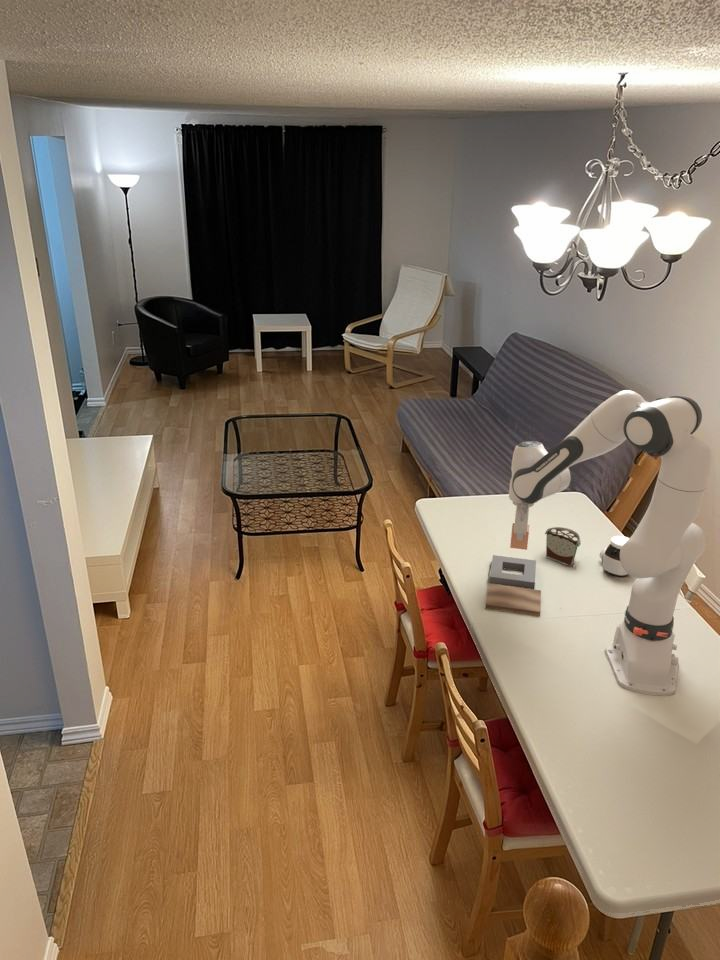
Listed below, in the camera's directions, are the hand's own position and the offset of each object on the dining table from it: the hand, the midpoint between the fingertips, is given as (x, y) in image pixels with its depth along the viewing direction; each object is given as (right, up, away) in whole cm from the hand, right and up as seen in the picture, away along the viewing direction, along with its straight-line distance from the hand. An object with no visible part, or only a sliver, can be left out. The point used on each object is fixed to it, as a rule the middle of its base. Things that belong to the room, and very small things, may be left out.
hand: (520, 534), depth 224 cm
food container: (+20, -10, +24) cm, 33 cm away
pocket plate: (+1, -14, +14) cm, 20 cm away
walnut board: (-2, -20, 0) cm, 20 cm away
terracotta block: (0, -3, +1) cm, 4 cm away
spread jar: (+35, -13, +18) cm, 41 cm away
